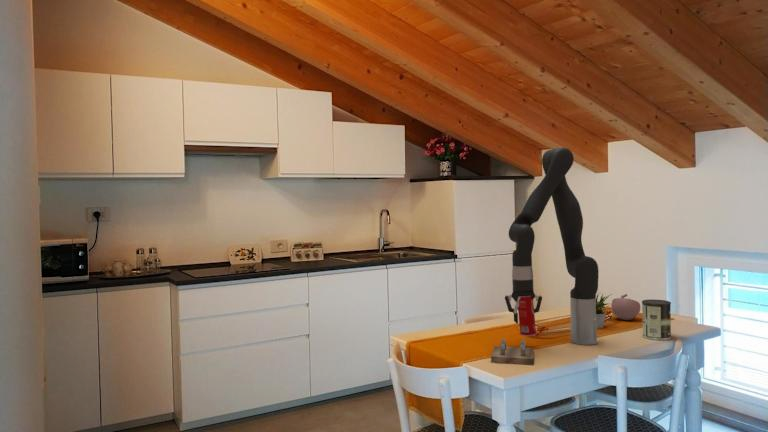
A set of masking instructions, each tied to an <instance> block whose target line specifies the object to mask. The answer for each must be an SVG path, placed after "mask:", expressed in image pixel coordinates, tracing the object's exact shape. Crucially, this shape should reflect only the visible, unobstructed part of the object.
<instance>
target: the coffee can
mask: <svg viewBox="0 0 768 432" xmlns="http://www.w3.org/2000/svg"><path fill="white" fill-rule="evenodd" d="M641 304H642V305H641V310H642V314H641V315H642V321H641V322H642V337H643V338H644V339H648V340H652V341H669V340H671V339H672V329H671V328H672V325H671V322H672V319H671V317H672V313H671V312H672V311H671V309H672V308H671V304H672V302H671V301H669V300H666V299H663V300H662V299H643V300H641Z"/></svg>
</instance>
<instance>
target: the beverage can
mask: <svg viewBox="0 0 768 432" xmlns="http://www.w3.org/2000/svg"><path fill="white" fill-rule="evenodd" d="M518 303H519V307H518V310H517V313H518V323H519V333H520V335H521V336H522V337H532V336H536V334H537V328H536V327H537V326H536V316H535V313H534V314H533V310H534V309H535V305H534V299H533V300H532V298H531V296H522V297H520V300H519V302H518Z"/></svg>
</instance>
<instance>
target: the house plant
mask: <svg viewBox="0 0 768 432" xmlns="http://www.w3.org/2000/svg"><path fill="white" fill-rule="evenodd" d="M600 294H601V292H597V293H596V319H597V329H604V326H605V321H606V314H607V313H606V312H605V310H606V308H608V307H609V305H608V303H604V302H605V301H606V300H607V299H608V298H609V297H610V296H611V295H613V293H610V294H609V295H605V296H604V293H602V294H601V296H600V299H598V298H599V295H600ZM598 300H599V301H598Z"/></svg>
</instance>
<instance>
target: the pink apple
mask: <svg viewBox="0 0 768 432" xmlns="http://www.w3.org/2000/svg"><path fill="white" fill-rule="evenodd" d="M625 297H626V298H625ZM627 297H628V294H627V293H625V294H623V295H621V296H620V297H616V298H613V299H612V300H611V303H610V307H611V312H612V313H613V314H614V316H616V318H619V320H624V321H630V320H634V319H635V318H636V317H638V315H639V314H640V313H641V312H640V311H641V303H640V302H639V301H637V300H634V299H631V298H627Z"/></svg>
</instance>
